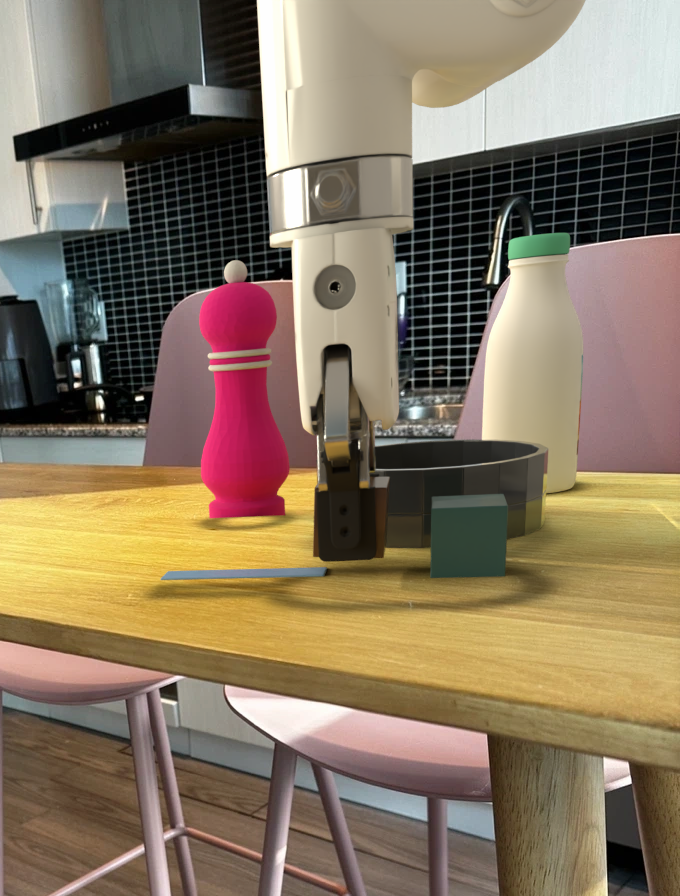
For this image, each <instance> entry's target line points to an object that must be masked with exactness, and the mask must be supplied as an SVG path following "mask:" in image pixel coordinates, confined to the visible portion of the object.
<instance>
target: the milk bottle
mask: <svg viewBox="0 0 680 896" xmlns="http://www.w3.org/2000/svg"><path fill="white" fill-rule="evenodd" d="M570 249H571V236H570V234H569V233H568V232H553V233H552V232H551V233H541V234H540V233H539V234H531V235H526V236H524V235H523V236H519V237H514V238H512V239H510V240H509V242H508V249H507V258H508V260H509V261H508V266H507V268H508V269H509V270H510V278H509V283H508V286H507V290H506V293H505V297H504V299H503V302H502V304H501V306H500V309H499V310H498V314H497V316H496V318H495V319H494V322H493V325H492V327H491V329H490V332H489V336H488V340H487V344H486V351H485V360H484V361H485V362H484V377H483V396H482V397H483V400H482V401H483V402H482V425H481V427H482V429H481V440H512V441H525V442H531V443H538V444H541V445H543V446H545V447H547V448H548V449H549V450H548V469H547V487H546V494H552V493H559V492H564V491H567V490H570V489H572V488H573V487H575V486H574V485H575V484H576V481H577V471H578V458H579V444H580V443H579V442H580V427H581V413H582V396H583V395H582V394H583V393H582V392H583V378H584V377H583V376H584V375H583V374H584V335H583V330H582V325H581V322H580V318H579V316H578V312H577V310H576V308H575V305H574V302H573V301H572V300H573V299H572V298H571V295H570V290H569V287H568V284H567V278H566V266H567V263H569V261H570V259H569V254H570Z"/></svg>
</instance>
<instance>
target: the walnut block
mask: <svg viewBox="0 0 680 896" xmlns="http://www.w3.org/2000/svg"><path fill="white" fill-rule="evenodd" d="M389 485H390V477H370V487H375V507H376V549H377V551H376V555H375V557H374V558H373V559H384V557H385V553H386V549H387V548H386V544H387V525H388V505H389ZM313 490H314V491H313V493H314V497H313V502H314V503H313V538H312V539H313V540H312V558H319V549H318V526H317V503H316V491H317V490H319V488H318V484H317V483H316V485H315V487H314V489H313Z"/></svg>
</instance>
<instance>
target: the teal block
mask: <svg viewBox="0 0 680 896" xmlns="http://www.w3.org/2000/svg"><path fill="white" fill-rule="evenodd" d="M507 520H508V505H507V502H506V499H505V497H504V494H485V495H461V496H438V497H432V504H431V548H430V574H429V576H430V577H429V578H430V579H444V578H445V579H447V578H448V579H452V578H453V579H455V578H456V579H457V578H493V577H494V578H497V577H498V578H499V577H503V578H504V577H506V568H507V567H506V566H507V545H508V544H507V541H508V539H507Z"/></svg>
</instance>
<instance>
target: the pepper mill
mask: <svg viewBox="0 0 680 896" xmlns="http://www.w3.org/2000/svg"><path fill="white" fill-rule="evenodd" d="M223 276H224V279H225V281H226V282H227V283H225V284H222V285H220V286H218V287H216V288H214V289H213V290H212V291H210V292H209V293H208V295H207V296H206V297H205V298H204V300H203V302H202V303H201V306H200V310H199V317H198V321H199V322H198V324H199V330H200V333H201V335H202V337H203V338H204V340H205V341H206V342H207V343H208V344H209V345H210V348H211V350H212V351H211V352H209V353H208V354H207V358H208V359H209V362H208V364H209V365H208V371H210V372H213V378H214V387H215V388H214V389H215V401H214V403H215V405H214V411H213V418H212V421H211V425H210V428H209V431H208V434H207V436H206V440H205V443H204V446H203V450H202V455H201V460H200V477H201V480H202V482H203V484H204V485H205V487H206V488H207V489H208V490H209V491H210V492H211V494H213V496H214V498H215V499H213V500H212V501H210V503H209V504H208V515H209V517H208V518H209V519H223V518H224V519H226V518H228V519H229V518H251V517H253V518H255V517H278V516H286V502H285V501H286V500H285V498H284V497H283V496H281V495H278V492H279V490H280V489H281V486H283V485H284V483H285V482H286V480H287V478H288V476H289V474H290V469H291V468H290V466H291V465H290V459H289V457H290V456H289V453H288V449H287V446H286V443H285V441H284V438H283V436H282V434H281V431H280V429H279V427H278V424H277V423H276V420H275V417H274V415H273V413H272V409H271V406H270V402H269V396H268V387H267V386H268V385H267V382H268V381H267V379H268V367H270V366H272V365H273V361H272V360H271V355H270V354H271V353H272V351H273V350H272V349H271V348H270V347H267V343H268V341H269V339H270V338H271V336H272V334H273V333H274V332H275V330H276V327H277V322H278V321H277V320H278V319H277V318H278V315H277V308H276V304H275V301H274V299H273V296H272V295H271V294H270V293H269V291H268V290H266V288H264V287H263V286H260V285H258V284H257V283H253V282H247V281H246V280H247V277H248V269H247V266H246V264H245V263H244V262H243V261H241V260H238V259H235V260H231V261H230V262H228V263H227V264H226V265H225V268H224V271H223Z"/></svg>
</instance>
